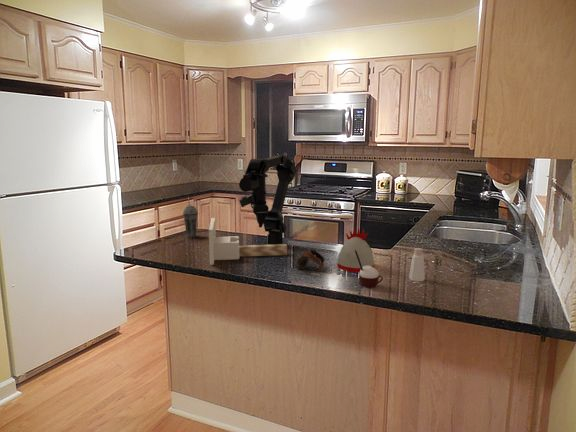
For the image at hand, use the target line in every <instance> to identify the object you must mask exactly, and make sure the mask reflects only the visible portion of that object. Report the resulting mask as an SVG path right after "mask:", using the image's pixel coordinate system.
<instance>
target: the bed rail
mask: <svg viewBox="0 0 576 432" xmlns="http://www.w3.org/2000/svg"><path fill="white" fill-rule="evenodd" d="M287 255H288V245H287V243H283V244H273V245H268V244H247V245H245V244H244V245H243V244H242V245H240V244H239V258H240V257H261V256H263V257H264V256H265V257H267V256H287Z"/></svg>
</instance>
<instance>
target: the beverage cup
mask: <svg viewBox="0 0 576 432" xmlns="http://www.w3.org/2000/svg"><path fill="white" fill-rule="evenodd" d="M187 201H188V205H186V207H184V209H183V212H182V214H183V215H182V216H183V219H184V226H185V227H184V228H185V233H186V238H196V237H197V227H198V225H197V224H198V215H199V212H198V209H197V208H196V207H195V206H194V205H191V204H190V197H189V196H188V197H187Z"/></svg>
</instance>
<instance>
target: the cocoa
mask: <svg viewBox="0 0 576 432" xmlns="http://www.w3.org/2000/svg"><path fill="white" fill-rule="evenodd" d="M355 253H356V256H357V259H358V262H359V265H360V268H361V270H360V272H359V282H360V284H361V285H362V286H363V287H365V288H374V287H375V286H376V285H378V284H380V283H382V281H383V275H379V274H380V272H379V271H378V270H377V268H375V267H374V268H373V267H371V266H363V267H362V265H361V262H360V259H359V256H358V254H357V251H356V250H355ZM379 278H380V279H379Z"/></svg>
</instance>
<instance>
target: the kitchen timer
mask: <svg viewBox="0 0 576 432" xmlns="http://www.w3.org/2000/svg"><path fill="white" fill-rule="evenodd" d="M349 234H350V235H348V233H345V236H346V238H347V240H346V241H345V242H344V243H343V245H342V247H341V248H340V250H339V253H338V257H337V261H336V263H337V264H336V266H337V268H338V269H339V270H341V271H346V272H350V273H351V272H352V273H360V270H361V268H360V265H359V262H358V259H357V256H356V253H355V250H356V251H357V254H358V256H359V259H360V262H361V265H362V267H363V266H371V267H373V268H375V260H374V255H373V252H372V248H371V247H370V245H369V244H368V242H367V241H366V238H367V236H368V235H369V232H367V233H365V229H362V231H361V232H360V228H358V229H357V231H356V228H353V232H352V230H349Z"/></svg>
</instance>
